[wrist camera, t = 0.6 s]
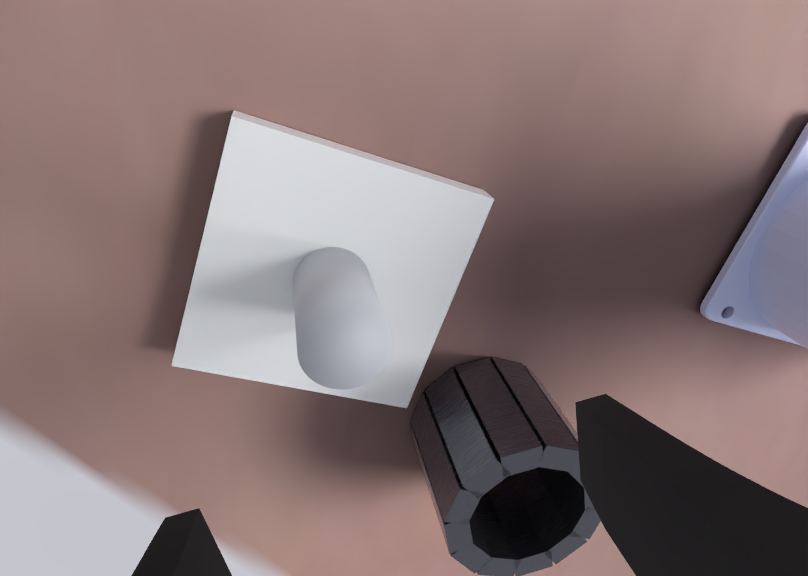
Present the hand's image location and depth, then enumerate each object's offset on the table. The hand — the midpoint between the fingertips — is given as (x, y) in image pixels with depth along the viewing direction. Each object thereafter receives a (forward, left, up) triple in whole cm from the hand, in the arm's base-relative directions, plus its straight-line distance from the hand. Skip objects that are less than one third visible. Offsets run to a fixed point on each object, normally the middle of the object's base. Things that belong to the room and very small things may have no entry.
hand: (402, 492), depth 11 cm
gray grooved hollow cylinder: (-7, +4, -10) cm, 12 cm away
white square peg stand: (+1, 0, -10) cm, 10 cm away
